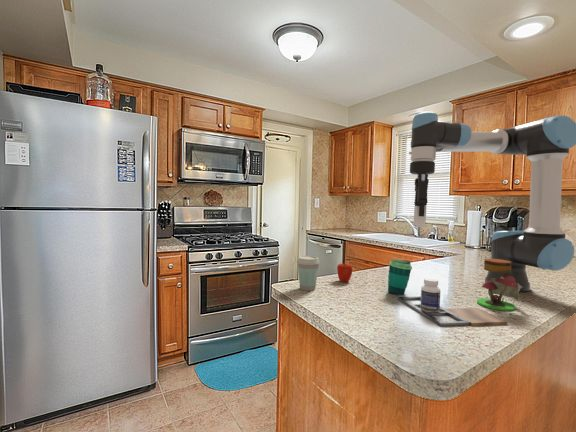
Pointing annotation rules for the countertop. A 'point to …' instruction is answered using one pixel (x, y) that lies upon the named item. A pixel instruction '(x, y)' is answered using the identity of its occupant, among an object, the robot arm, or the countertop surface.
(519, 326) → the countertop surface
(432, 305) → the pill bottle
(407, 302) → the gray rectangular frame
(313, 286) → the coffee cup
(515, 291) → the mushroom toy
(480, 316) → the coaster
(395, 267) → the cup
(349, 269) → the red bell pepper
